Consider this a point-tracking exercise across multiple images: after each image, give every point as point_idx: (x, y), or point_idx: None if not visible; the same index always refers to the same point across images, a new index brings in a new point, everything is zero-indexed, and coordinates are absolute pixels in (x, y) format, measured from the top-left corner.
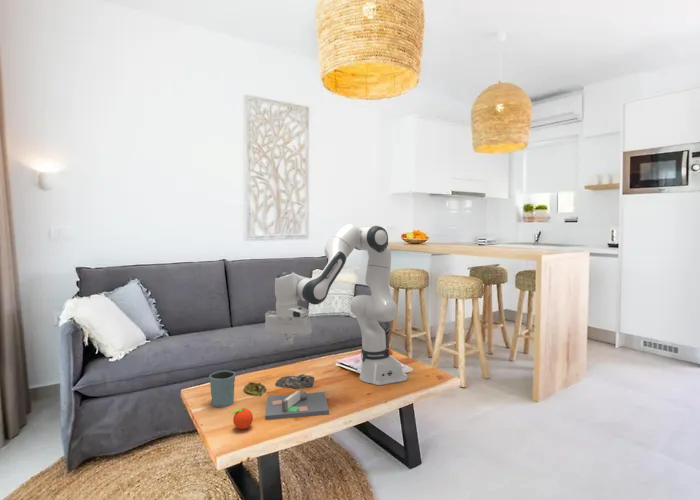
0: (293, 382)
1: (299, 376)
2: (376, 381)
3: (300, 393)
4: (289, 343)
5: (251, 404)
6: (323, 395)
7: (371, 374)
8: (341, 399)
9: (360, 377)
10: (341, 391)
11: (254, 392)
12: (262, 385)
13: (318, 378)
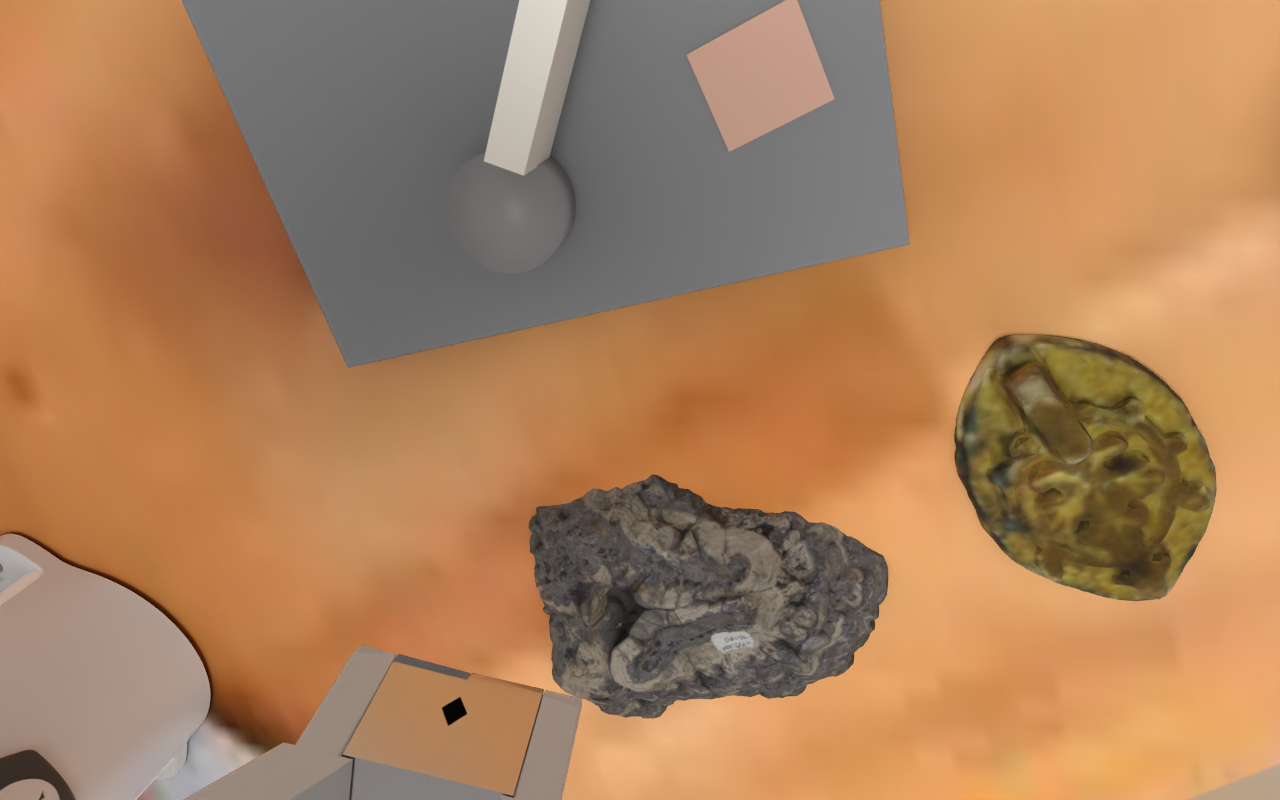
0: (697, 556)
1: (663, 657)
2: (22, 572)
3: (513, 208)
4: (418, 672)
5: (1074, 111)
6: (329, 283)
7: (17, 621)
8: (186, 267)
9: (176, 649)
10: (250, 431)
11: (1080, 373)
12: (1012, 523)
13: (525, 676)
